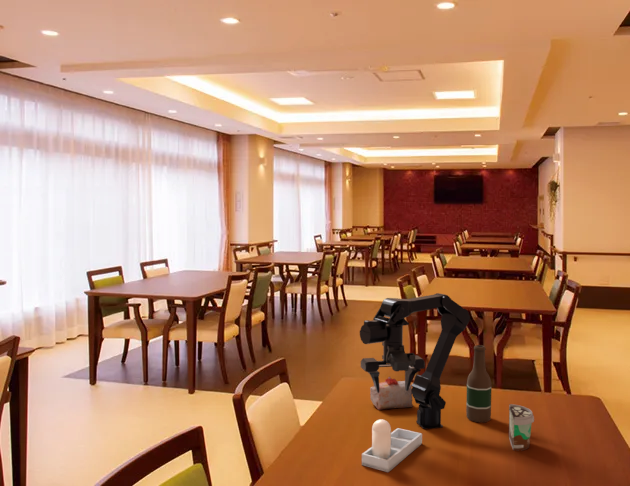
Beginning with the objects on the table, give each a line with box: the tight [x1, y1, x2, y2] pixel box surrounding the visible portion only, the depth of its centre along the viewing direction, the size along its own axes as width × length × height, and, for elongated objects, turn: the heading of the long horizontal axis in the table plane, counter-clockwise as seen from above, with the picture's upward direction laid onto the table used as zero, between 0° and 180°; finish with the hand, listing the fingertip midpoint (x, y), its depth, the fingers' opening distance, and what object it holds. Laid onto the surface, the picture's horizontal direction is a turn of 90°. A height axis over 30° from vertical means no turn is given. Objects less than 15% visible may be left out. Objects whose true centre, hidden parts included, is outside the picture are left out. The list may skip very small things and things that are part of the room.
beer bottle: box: [465, 344, 492, 423], centre depth 189 cm, size 8×8×24 cm
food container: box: [508, 403, 535, 452], centre depth 168 cm, size 12×6×10 cm, turn 168°
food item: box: [369, 376, 413, 411], centre depth 201 cm, size 14×8×10 cm, turn 102°
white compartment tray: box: [361, 427, 423, 473], centre depth 162 cm, size 22×8×3 cm, turn 147°
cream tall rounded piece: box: [371, 418, 392, 460], centre depth 156 cm, size 5×5×11 cm
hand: (392, 391), depth 176 cm, fingers open, 9 cm apart
